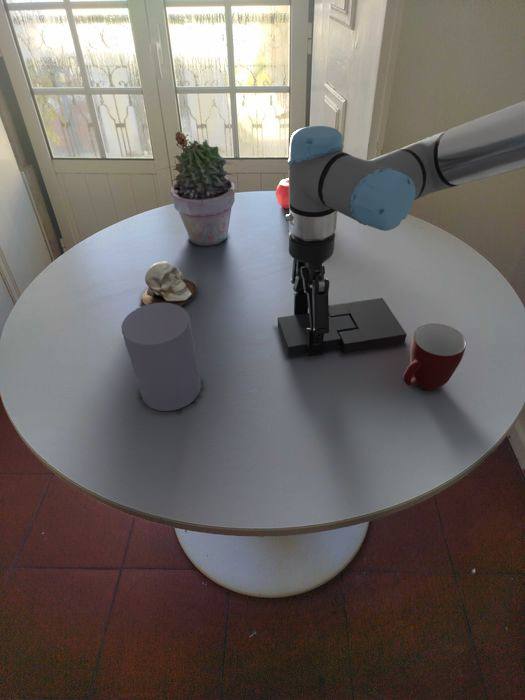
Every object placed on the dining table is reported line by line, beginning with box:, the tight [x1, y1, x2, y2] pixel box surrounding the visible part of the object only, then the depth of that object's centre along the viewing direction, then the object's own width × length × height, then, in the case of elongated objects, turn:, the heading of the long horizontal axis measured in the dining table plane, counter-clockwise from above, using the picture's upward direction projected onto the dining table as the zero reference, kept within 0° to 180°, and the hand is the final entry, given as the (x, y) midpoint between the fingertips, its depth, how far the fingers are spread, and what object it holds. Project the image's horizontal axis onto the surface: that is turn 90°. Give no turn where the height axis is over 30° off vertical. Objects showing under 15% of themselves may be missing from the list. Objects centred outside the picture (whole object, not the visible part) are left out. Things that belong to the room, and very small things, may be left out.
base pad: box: [329, 297, 407, 355], centre depth 91 cm, size 12×12×2 cm
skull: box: [141, 261, 198, 307], centre depth 102 cm, size 12×10×10 cm
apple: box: [275, 178, 289, 209], centre depth 132 cm, size 8×8×8 cm
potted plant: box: [159, 130, 240, 247], centre depth 114 cm, size 18×20×25 cm
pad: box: [277, 312, 356, 358], centre depth 90 cm, size 9×14×2 cm, turn 101°
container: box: [121, 303, 202, 412], centre depth 77 cm, size 10×10×15 cm
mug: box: [402, 323, 467, 392], centre depth 77 cm, size 10×8×10 cm
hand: (307, 336), depth 91 cm, fingers open, 10 cm apart
